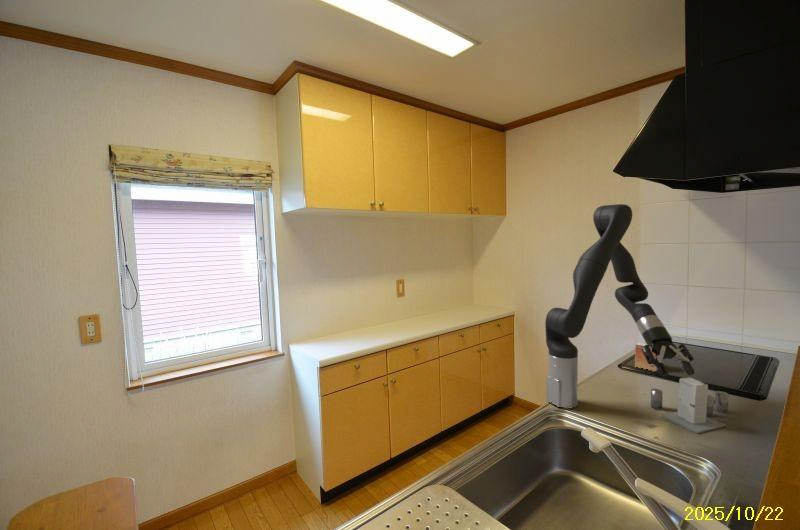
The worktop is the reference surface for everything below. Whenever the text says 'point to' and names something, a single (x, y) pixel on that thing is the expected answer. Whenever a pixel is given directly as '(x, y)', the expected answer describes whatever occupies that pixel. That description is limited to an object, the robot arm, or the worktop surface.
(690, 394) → the skincare box
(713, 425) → the slate tile
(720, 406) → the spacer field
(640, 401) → the worktop surface
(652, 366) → the small box
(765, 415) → the worktop surface
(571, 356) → the robot arm
